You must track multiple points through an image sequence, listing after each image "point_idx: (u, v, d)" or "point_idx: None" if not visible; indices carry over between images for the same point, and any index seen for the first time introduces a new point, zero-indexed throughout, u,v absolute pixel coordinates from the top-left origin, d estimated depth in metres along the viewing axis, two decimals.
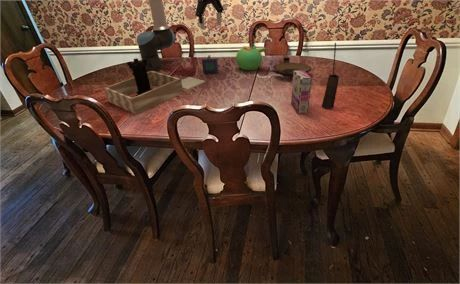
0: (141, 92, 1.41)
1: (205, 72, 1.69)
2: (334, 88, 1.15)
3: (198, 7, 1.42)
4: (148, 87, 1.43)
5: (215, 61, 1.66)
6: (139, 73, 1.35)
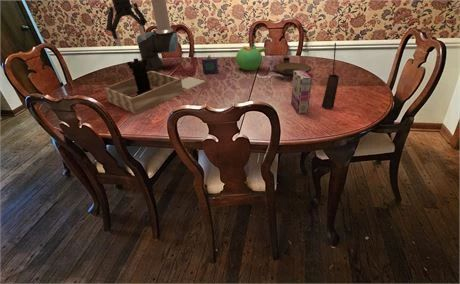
0: (141, 92, 1.41)
1: (205, 72, 1.69)
2: (334, 88, 1.15)
3: (108, 20, 1.18)
4: (148, 87, 1.43)
5: (215, 61, 1.66)
6: (139, 73, 1.35)
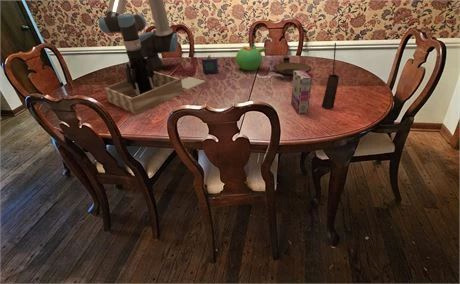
0: (141, 92, 1.41)
1: (205, 72, 1.69)
2: (334, 88, 1.15)
3: (127, 75, 1.33)
4: (148, 87, 1.42)
5: (215, 61, 1.66)
6: (139, 73, 1.35)
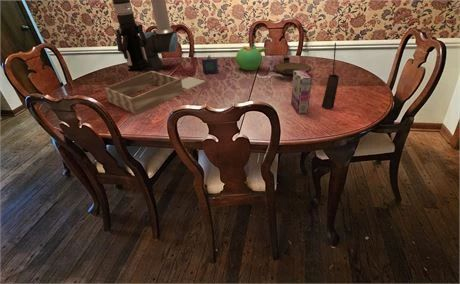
0: (133, 62, 1.33)
1: (205, 72, 1.69)
2: (334, 88, 1.15)
3: (118, 42, 1.24)
4: (141, 57, 1.34)
5: (215, 61, 1.66)
6: (131, 41, 1.27)
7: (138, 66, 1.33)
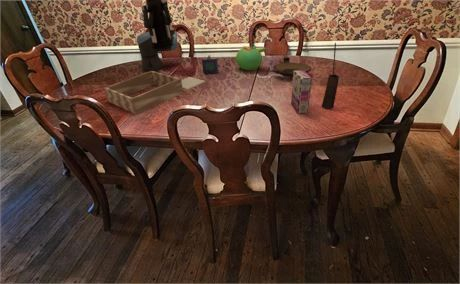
0: (158, 40, 1.35)
1: (205, 72, 1.69)
2: (334, 88, 1.15)
3: (144, 18, 1.27)
4: (165, 35, 1.36)
5: (215, 61, 1.66)
6: (156, 17, 1.29)
7: (162, 43, 1.35)
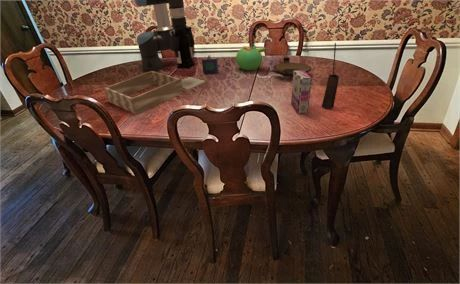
0: (182, 60, 1.48)
1: (205, 72, 1.69)
2: (334, 88, 1.15)
3: (172, 42, 1.40)
4: (189, 56, 1.49)
5: (215, 61, 1.66)
6: (182, 41, 1.42)
7: (187, 64, 1.48)
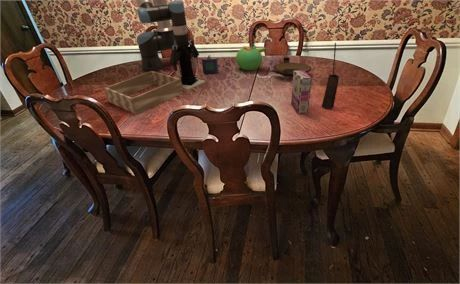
0: (185, 77, 1.53)
1: (205, 72, 1.69)
2: (334, 88, 1.15)
3: (172, 56, 1.43)
4: (191, 73, 1.54)
5: (215, 61, 1.66)
6: (185, 59, 1.47)
7: (189, 80, 1.53)
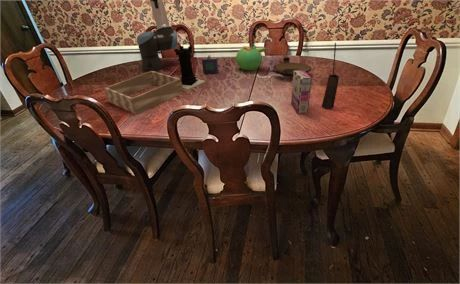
0: (185, 77, 1.53)
1: (205, 72, 1.69)
2: (334, 88, 1.15)
3: None
4: (191, 73, 1.54)
5: (215, 61, 1.66)
6: (185, 59, 1.47)
7: (189, 80, 1.53)
